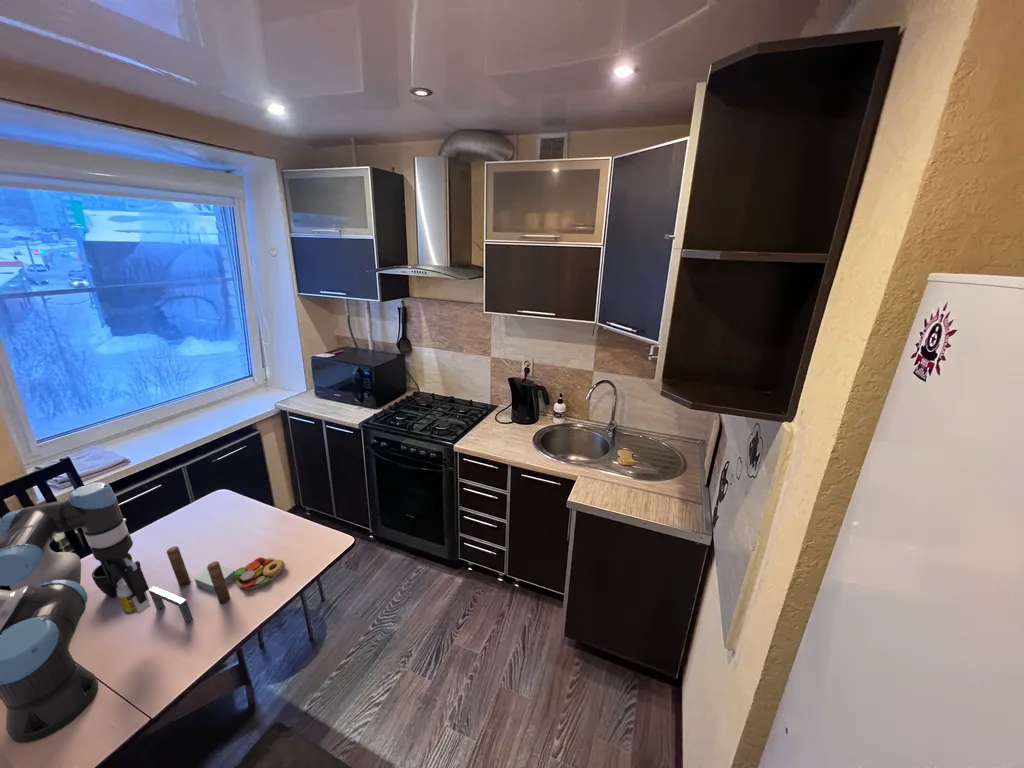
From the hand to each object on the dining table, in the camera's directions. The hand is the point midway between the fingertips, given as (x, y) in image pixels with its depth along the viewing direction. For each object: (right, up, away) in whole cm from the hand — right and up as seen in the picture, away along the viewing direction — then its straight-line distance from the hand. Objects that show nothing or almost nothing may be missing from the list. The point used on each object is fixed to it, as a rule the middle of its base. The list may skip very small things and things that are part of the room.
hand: (136, 606), depth 116 cm
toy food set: (+20, -3, +24) cm, 31 cm away
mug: (-20, -5, +18) cm, 27 cm away
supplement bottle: (0, -1, 0) cm, 1 cm away
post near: (+14, -6, +15) cm, 21 cm away
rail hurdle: (+3, -8, +10) cm, 13 cm away
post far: (-3, -4, +21) cm, 21 cm away
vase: (-34, -7, +13) cm, 37 cm away
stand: (+7, -3, +22) cm, 23 cm away
